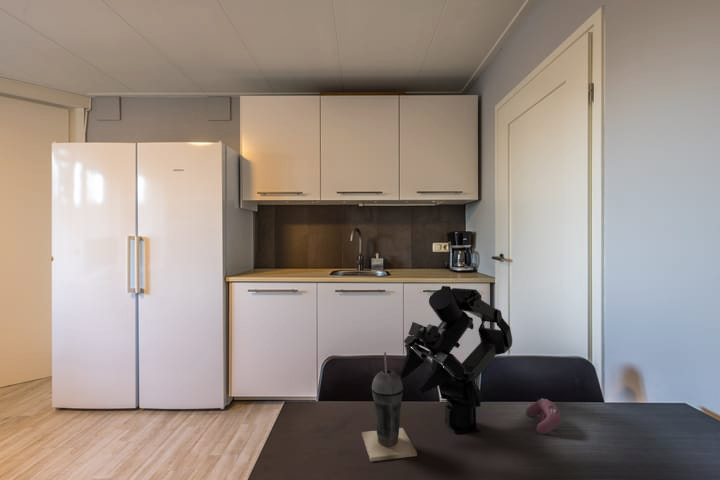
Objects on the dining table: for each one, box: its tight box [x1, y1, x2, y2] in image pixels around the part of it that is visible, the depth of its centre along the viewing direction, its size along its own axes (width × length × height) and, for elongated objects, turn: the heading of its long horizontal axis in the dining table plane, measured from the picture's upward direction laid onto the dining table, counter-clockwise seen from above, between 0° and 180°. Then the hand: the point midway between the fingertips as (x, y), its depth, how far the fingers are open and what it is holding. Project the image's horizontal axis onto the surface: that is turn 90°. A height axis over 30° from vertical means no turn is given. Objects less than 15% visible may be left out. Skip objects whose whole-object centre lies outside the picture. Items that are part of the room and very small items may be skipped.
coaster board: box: [361, 427, 418, 462], centre depth 75 cm, size 10×10×1 cm
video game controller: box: [525, 397, 562, 435], centre depth 83 cm, size 10×5×7 cm, turn 170°
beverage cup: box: [370, 352, 404, 447], centre depth 76 cm, size 7×7×20 cm
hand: (410, 384), depth 78 cm, fingers open, 9 cm apart
